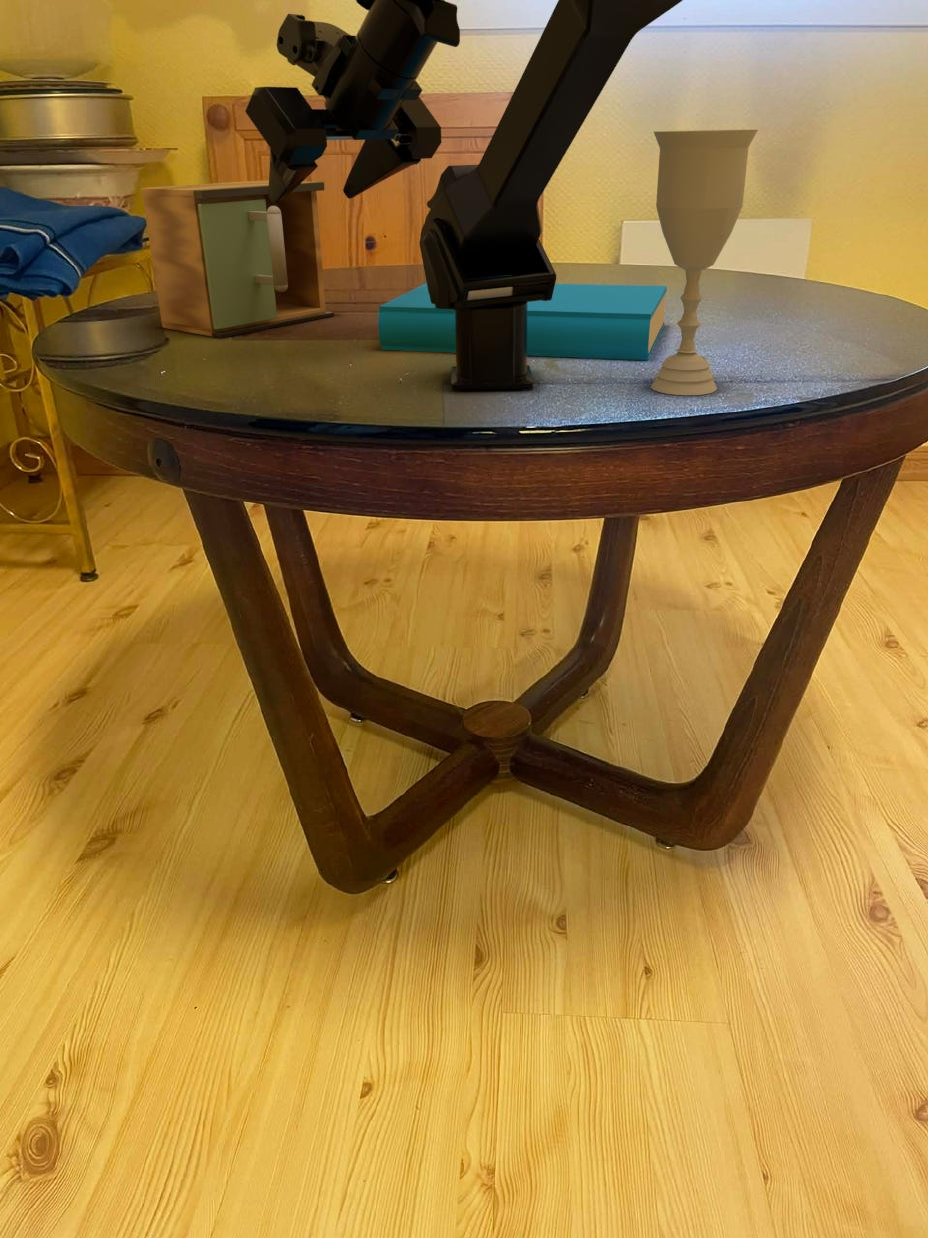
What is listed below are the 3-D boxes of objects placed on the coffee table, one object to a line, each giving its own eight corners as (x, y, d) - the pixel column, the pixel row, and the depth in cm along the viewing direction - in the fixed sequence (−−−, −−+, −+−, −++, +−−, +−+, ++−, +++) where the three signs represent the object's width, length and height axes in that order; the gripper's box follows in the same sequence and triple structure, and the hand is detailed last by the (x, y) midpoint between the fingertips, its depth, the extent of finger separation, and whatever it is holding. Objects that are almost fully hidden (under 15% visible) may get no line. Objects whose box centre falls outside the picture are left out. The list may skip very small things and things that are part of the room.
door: (304, 322, 100) (293, 200, 95) (243, 334, 95) (228, 205, 90) (273, 317, 103) (261, 198, 98) (213, 329, 98) (197, 203, 93)
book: (428, 280, 104) (667, 281, 98) (430, 322, 106) (664, 325, 100) (375, 307, 89) (653, 310, 83) (378, 355, 91) (650, 361, 85)
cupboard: (334, 315, 108) (324, 181, 102) (220, 338, 98) (201, 190, 92) (276, 307, 114) (263, 179, 108) (162, 327, 103) (141, 187, 97)
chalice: (747, 386, 76) (776, 129, 68) (701, 403, 72) (727, 130, 64) (667, 372, 81) (685, 130, 73) (619, 388, 76) (633, 131, 68)
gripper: (412, -13, 87) (337, 129, 98) (245, -35, 74) (180, 131, 85) (482, 83, 85) (398, 216, 97) (325, 78, 73) (248, 231, 84)
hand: (310, 197), depth 91 cm, fingers open, 9 cm apart
